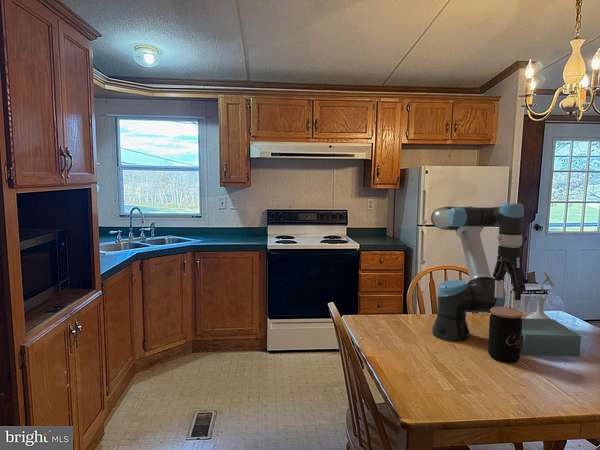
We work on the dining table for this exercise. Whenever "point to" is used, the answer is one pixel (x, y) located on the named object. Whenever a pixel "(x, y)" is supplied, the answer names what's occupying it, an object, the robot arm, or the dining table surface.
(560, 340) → the green riser stand
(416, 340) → the dining table surface
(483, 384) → the dining table surface
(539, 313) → the flower in vase
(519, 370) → the dining table surface
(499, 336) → the coffee jar
